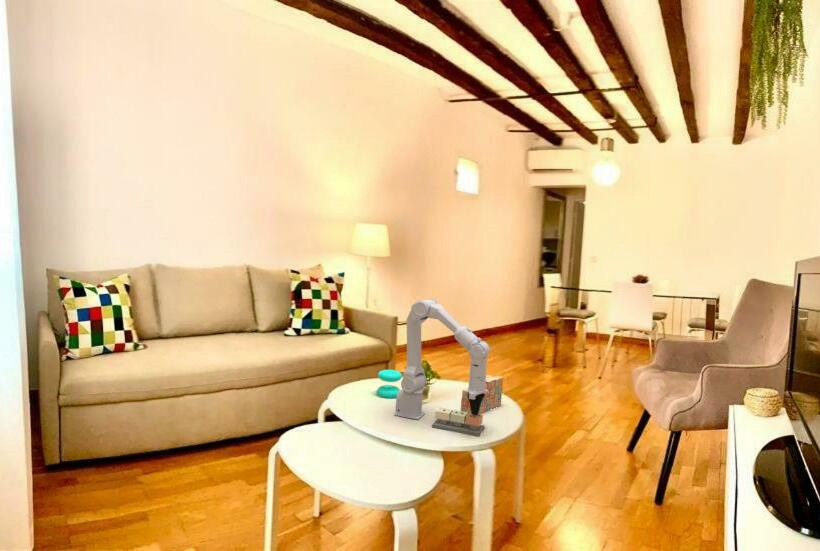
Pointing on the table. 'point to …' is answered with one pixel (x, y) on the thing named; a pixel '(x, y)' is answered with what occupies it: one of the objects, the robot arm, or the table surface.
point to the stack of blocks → (486, 395)
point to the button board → (458, 427)
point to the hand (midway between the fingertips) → (474, 414)
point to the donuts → (389, 390)
